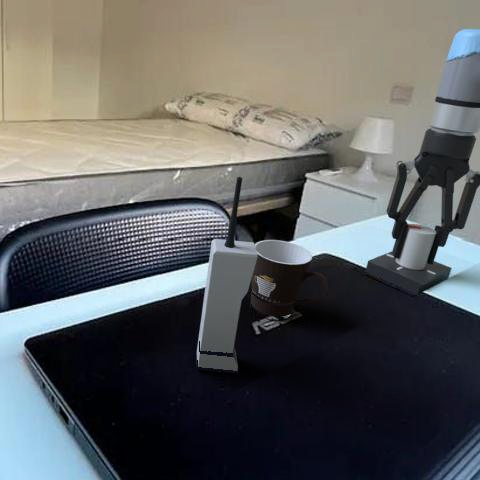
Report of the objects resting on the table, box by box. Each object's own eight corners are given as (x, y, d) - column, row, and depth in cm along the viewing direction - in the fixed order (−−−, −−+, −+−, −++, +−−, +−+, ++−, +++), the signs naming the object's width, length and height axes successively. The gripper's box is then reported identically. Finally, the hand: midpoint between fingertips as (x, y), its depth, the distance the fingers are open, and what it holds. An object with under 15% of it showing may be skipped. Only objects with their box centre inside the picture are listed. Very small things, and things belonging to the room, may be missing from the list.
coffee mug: (233, 299, 80) (242, 242, 76) (277, 292, 84) (288, 237, 80) (275, 339, 71) (288, 277, 67) (323, 330, 74) (338, 270, 70)
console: (447, 282, 93) (452, 267, 92) (416, 298, 86) (421, 282, 85) (396, 261, 100) (400, 247, 99) (364, 274, 93) (368, 259, 92)
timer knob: (421, 261, 94) (433, 224, 91) (427, 272, 89) (440, 234, 86) (393, 256, 95) (404, 220, 92) (397, 266, 90) (409, 229, 87)
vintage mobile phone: (236, 375, 62) (270, 184, 53) (197, 371, 62) (223, 179, 53) (234, 357, 66) (265, 174, 56) (196, 354, 66) (221, 170, 56)
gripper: (504, 134, 84) (460, 259, 93) (390, 120, 88) (358, 241, 97) (521, 142, 77) (471, 276, 86) (396, 127, 81) (362, 256, 90)
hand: (412, 258), depth 91 cm, fingers closed on timer knob, 5 cm apart
